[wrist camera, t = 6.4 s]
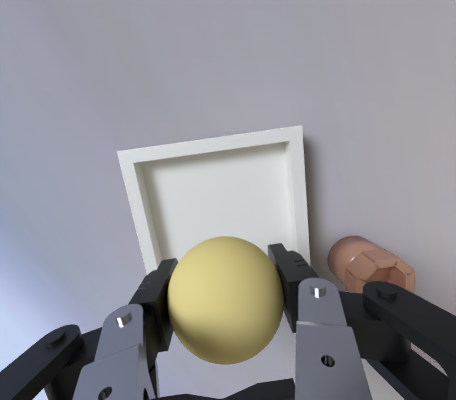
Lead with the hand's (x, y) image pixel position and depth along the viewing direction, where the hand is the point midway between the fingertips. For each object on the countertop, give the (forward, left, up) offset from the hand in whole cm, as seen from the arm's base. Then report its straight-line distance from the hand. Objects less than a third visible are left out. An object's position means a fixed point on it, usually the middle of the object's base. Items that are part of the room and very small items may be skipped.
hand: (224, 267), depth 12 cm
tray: (0, 0, -9) cm, 9 cm away
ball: (0, 0, +2) cm, 2 cm away
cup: (+6, +12, -9) cm, 16 cm away
